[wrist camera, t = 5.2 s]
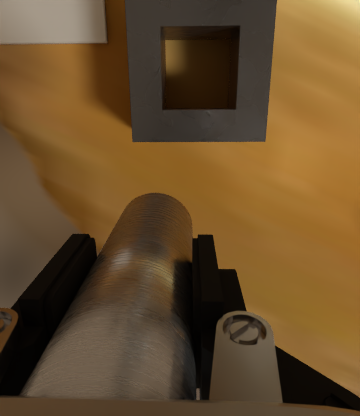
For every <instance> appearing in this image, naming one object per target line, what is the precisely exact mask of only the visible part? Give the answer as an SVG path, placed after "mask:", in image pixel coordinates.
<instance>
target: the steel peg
mask: <svg viewBox="0 0 360 416" xmlns="http://www.w3.org/2000/svg"><path fill="white" fill-rule="evenodd" d="M192 238H193V229H192V220H191V217H190V214H189V212H188V210H187V209H186V208H185V206H184V205H183V204H182V203H181V202H179V201H178V200H177V199H175V198H173V197H171V196H169V195H166V194H162V193H148V194H144V195H141V196H139V197H137V198H135V199H134V200H132V201H131V202H130V203H129V204H128V205H127V206H126V208H125V209H124V211H123V213H122V214H121V216H120V218H119V220H118V221H117V223H116V225H115V227H114V229H113V230H112V232H111V234H110V236H109V237H108V239H107V241H106V243H105V244H104V246H103V248H102V250H101V251H100V253H99V255H98V257H97V258H96V260H95V262H94V264H93V266H92V267H91V269H90V271H89V273H88V274H87V276H86V278H85V280H84V281H83V283H82V285H81V287H80V288H79V290H78V292H77V294H76V296H75V297H74V299H73V301H72V303H71V304H70V306H69V308H68V310H67V311H66V313H65V315H64V317H63V318H62V320H61V322H60V324H59V326H58V327H57V329H56V331H55V333H54V334H53V336H52V338H51V340H50V341H49V343H48V345H47V347H46V348H45V350H44V352H43V354H42V355H41V357H40V359H39V361H38V363H37V364H36V366H35V368H34V370H33V371H32V373H31V375H30V377H29V378H28V380H27V382H26V384H25V385H24V387H23V389H22V391H21V393H20V394H19V396H57V397H102V398H143V399H179V400H196V361H195V344H194V340H193V299H192Z"/></svg>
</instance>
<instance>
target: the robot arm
mask: <svg viewBox="0 0 360 416" xmlns="http://www.w3.org/2000/svg"><path fill="white" fill-rule="evenodd" d="M96 258H97V253H96V244H95V239H94V238H90V235H89V234H72V235H71V237H70V238H69V239H68V240H67V241H66V242H65V244H64V245H63V246H62V247H61V248H60V249H59V251H58V252H57V253H56V254H55V255H54V257H53V258H52V259H51V260H50V261H49V263H48V264H47V265H46V266H45V267H44V269H43V270H42V271H41V272H40V273H39V275H38V276H37V277H36V278H35V280H34V281H33V282H32V283H31V284H30V285H29V286H28V288H27V289H26V290H25V291H24V292H23V294H22V295H21V296H20V297H19V298H18V300H17V302H16V303H15V304H14V305H13V306H12V307H11V309H9V308H0V416H360V398H359V397H358V396H356V395H355V394H353V393H352V392H350V391H349V390H347V389H345V388H344V387H342V386H340V385H339V384H337V383H335V382H334V381H332V380H331V379H329V378H327V377H326V376H324V375H322V374H321V373H319V372H317V371H316V370H314V369H313V368H311V367H309V366H308V365H306V364H304V363H303V362H301V361H299V360H298V359H296V358H295V357H293V356H291V355H290V354H288V353H286V352H285V351H283V350H282V349H280V348H278V347H277V346H275V343H274V336H273V331H272V328H271V326H270V325H269V323H268V322H267V321H266V320H265V319H263V318H262V317H261V316H259V315H256V314H254V313H251V312H247V311H246V307H245V303H244V299H243V296H242V292H241V288H240V284H239V280H238V277H237V273H236V270H235V269H218V264H217V258H216V252H215V246H214V240H213V235H198V238H192V299H193V340H194V344H195V361H196V388H200V400H179V399H143V398H102V397H57V396H19V394H20V393H21V391H22V389H23V387H24V385H25V384H26V382H27V380H28V378H29V377H30V375H31V373H32V371H33V370H34V368H35V366H36V364H37V363H38V361H39V359H40V357H41V355H42V354H43V352H44V350H45V348H46V347H47V345H48V343H49V341H50V340H51V338H52V336H53V334H54V333H55V331H56V329H57V327H58V326H59V324H60V322H61V320H62V318H63V317H64V315H65V313H66V311H67V310H68V308H69V306H70V304H71V303H72V301H73V299H74V297H75V296H76V294H77V292H78V290H79V288H80V287H81V285H82V283H83V281H84V280H85V278H86V276H87V274H88V273H89V271H90V269H91V267H92V266H93V264H94V262H95V260H96Z"/></svg>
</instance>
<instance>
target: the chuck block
mask: <svg viewBox="0 0 360 416" xmlns="http://www.w3.org/2000/svg"><path fill="white" fill-rule="evenodd" d="M276 4H277V0H125V11H126V29H127V48H128V66H129V84H130V103H131V121H132V139H133V142H265V139H266V127H267V115H268V102H269V90H270V78H271V66H272V53H273V41H274V29H275V17H276ZM213 39H231V43H230V67H229V91H228V108H167V107H166V55H165V40H213Z"/></svg>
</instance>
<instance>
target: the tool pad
mask: <svg viewBox="0 0 360 416" xmlns="http://www.w3.org/2000/svg"><path fill="white" fill-rule="evenodd" d="M94 43H108V39H107V26H106V12H105V0H0V44H94Z"/></svg>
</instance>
